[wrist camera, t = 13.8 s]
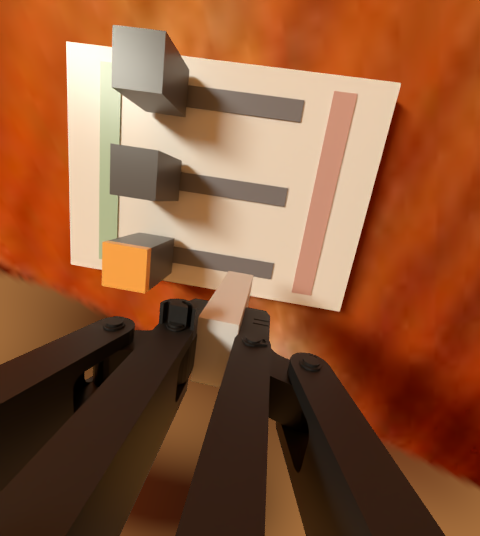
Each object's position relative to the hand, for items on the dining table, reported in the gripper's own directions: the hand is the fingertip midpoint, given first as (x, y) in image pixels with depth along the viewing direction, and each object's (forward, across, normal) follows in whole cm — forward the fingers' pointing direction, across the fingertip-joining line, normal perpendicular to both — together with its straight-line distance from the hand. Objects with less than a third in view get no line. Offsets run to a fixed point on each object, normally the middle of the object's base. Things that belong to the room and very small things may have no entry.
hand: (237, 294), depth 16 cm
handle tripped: (+6, +8, 0) cm, 10 cm away
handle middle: (+6, +8, -6) cm, 11 cm away
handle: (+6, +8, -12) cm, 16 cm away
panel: (+9, +4, -6) cm, 11 cm away
